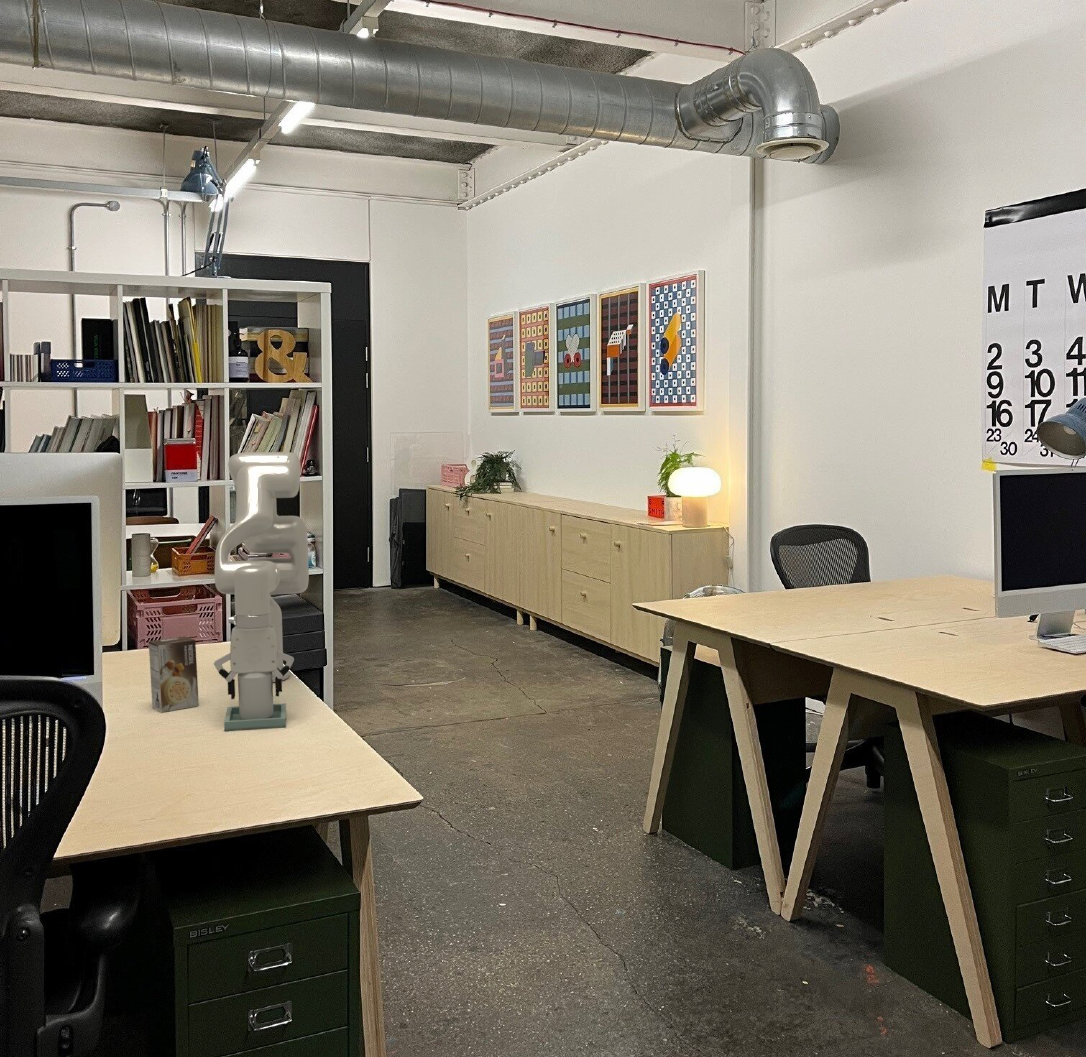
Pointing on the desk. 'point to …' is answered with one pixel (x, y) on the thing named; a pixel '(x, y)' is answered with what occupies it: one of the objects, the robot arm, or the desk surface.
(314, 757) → the desk surface
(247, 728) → the tray
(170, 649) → the coffee box
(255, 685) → the can
